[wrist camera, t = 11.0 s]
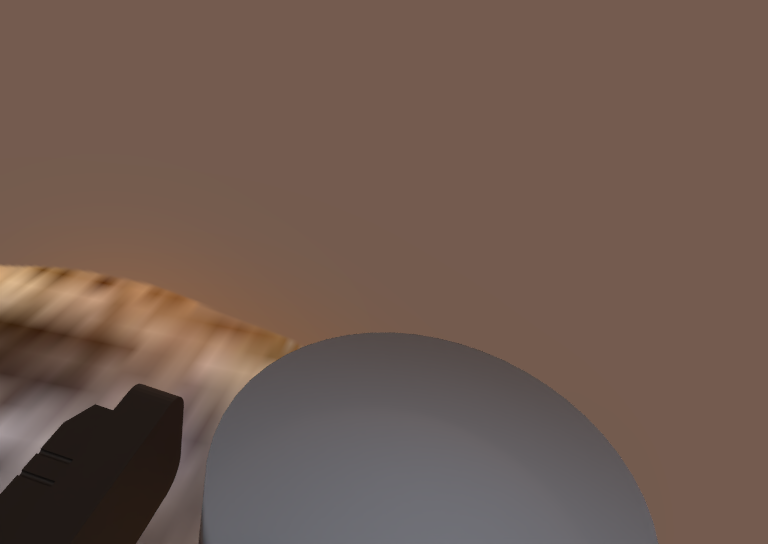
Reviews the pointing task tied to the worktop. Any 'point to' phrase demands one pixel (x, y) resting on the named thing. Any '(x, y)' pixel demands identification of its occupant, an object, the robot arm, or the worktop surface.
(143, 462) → the robot arm
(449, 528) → the canister
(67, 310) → the worktop surface
